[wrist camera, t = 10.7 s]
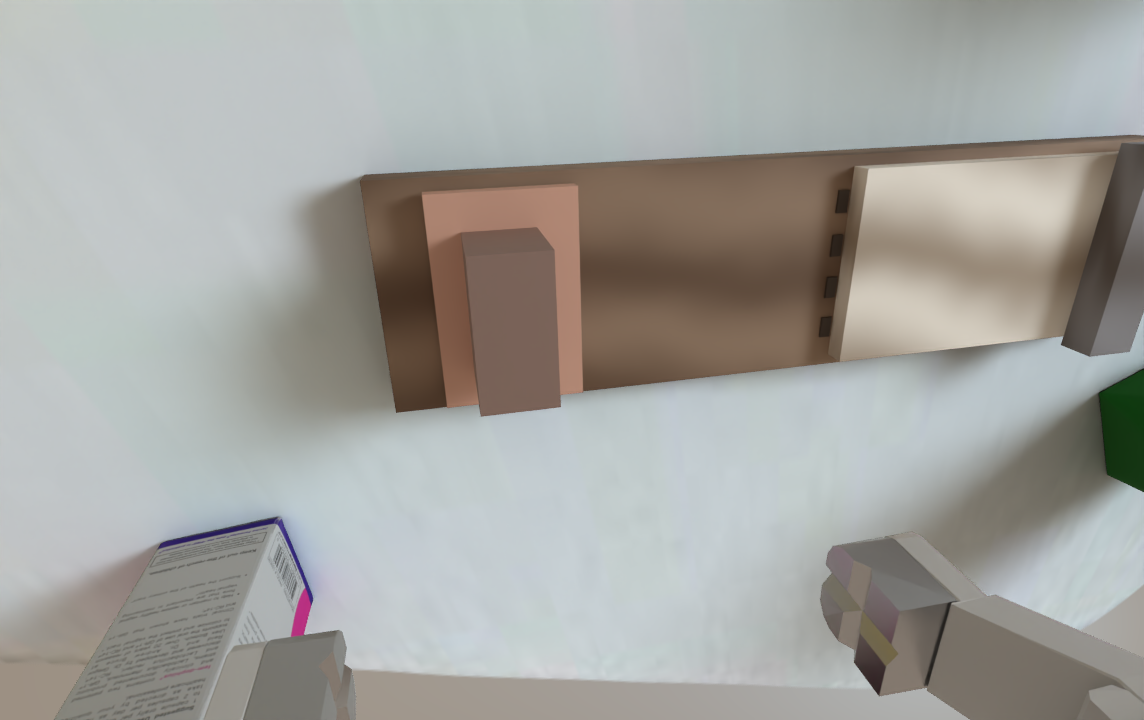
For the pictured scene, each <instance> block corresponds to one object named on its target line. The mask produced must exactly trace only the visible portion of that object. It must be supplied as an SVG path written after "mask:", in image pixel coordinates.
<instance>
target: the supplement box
mask: <svg viewBox="0 0 1144 720" xmlns="http://www.w3.org/2000/svg"><path fill="white" fill-rule="evenodd" d="M312 602H313V596H312V593H311V591H310V588H309V586H308V583H307V581H306V578H305V576H304V573H303V570H302V568H301V566H300V563H299V561H298V558H297V556H296V554H295V551H294V549H293V546H292V544H291V541H290V539H289V536H288V534H287V532H286V529H285V527H284V525H283V522H282V519H281V517H275V518H268V519H264V520H259V521H255V522H251V523H247V524H242V525H238V526H234V527H229V528H225V529H220V530H215V531H211V532H206V533H201V534H196V535H191V536H187V537H182V538H178V539H174V540H169V541H166V542H163V543H162V544H160V546H159V548H158V549H157V551H156V553H155V554H154V556H153V558H152V559H151V561H150V562H149V564H148V566H147V567H146V569H145V571H144V572H143V574H142V575H141V577H140V579H139V581H138V582H137V584H136V585H135V587H134V589H133V590H132V592H131V594H130V595H129V597H128V599H127V600H126V602H125V604H124V605H123V607H122V609H121V610H120V612H119V613H118V615H117V617H116V619H115V620H114V622H113V623H112V625H111V626H110V628H109V630H108V631H107V633H106V635H105V637H104V638H103V640H102V642H101V643H100V645H99V646H98V648H97V650H96V651H95V653H94V655H93V656H92V658H91V659H90V661H89V663H88V664H87V666H86V668H85V669H84V671H83V672H82V674H81V676H80V677H79V679H78V681H77V682H76V684H75V686H74V687H73V689H72V691H71V692H70V694H69V695H68V697H67V699H66V700H65V702H64V704H63V705H62V707H61V709H60V711H59V712H58V714H57V715H56V717H55V719H54V720H203V719H204V717H205V714H206V711H207V708H208V706H209V703H210V700H211V697H212V695H213V692H214V689H215V686H216V684H217V681H218V678H219V675H220V673H221V670H222V667H223V664H224V662H225V659H226V656H227V655H228V653H229V652H230V651H231V650H232V648H233V647H234V646H236V645H243V644H250V643H258V642H265V641H270V640H273V639H280V638H287V637H294V636H301V635H304V631H305V627H306V624H307V620H308V616H309V612H310V608H311V605H312Z"/></svg>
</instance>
